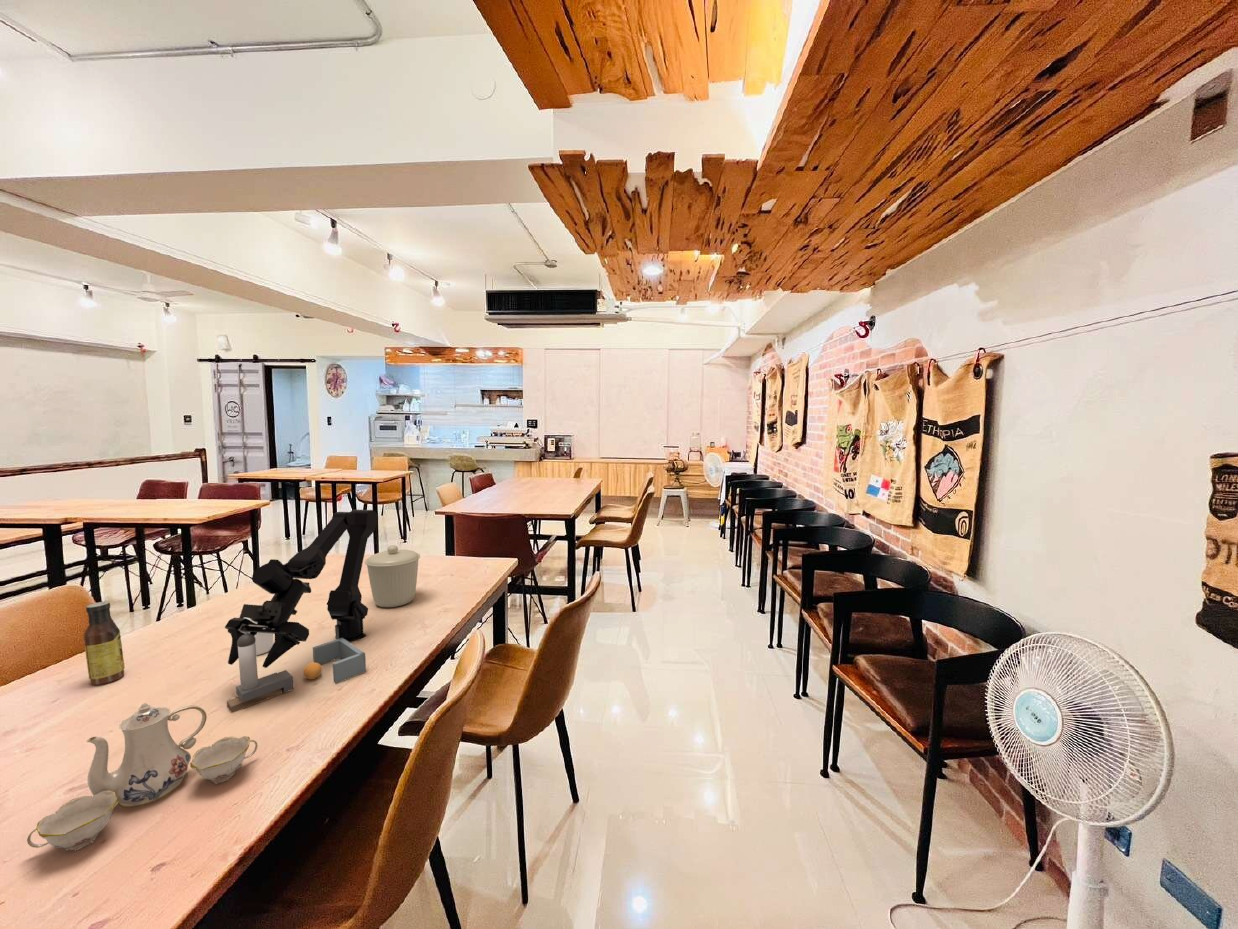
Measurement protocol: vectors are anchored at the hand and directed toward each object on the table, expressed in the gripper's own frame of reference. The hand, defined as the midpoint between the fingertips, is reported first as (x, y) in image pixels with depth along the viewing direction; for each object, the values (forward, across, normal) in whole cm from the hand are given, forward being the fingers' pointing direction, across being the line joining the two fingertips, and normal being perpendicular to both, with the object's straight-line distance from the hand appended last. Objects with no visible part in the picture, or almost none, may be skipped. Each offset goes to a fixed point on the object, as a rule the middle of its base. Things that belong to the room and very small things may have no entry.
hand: (246, 665), depth 110 cm
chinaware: (+26, +9, -12) cm, 30 cm away
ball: (-3, +6, +13) cm, 15 cm away
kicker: (+4, +2, +8) cm, 9 cm away
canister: (-37, -4, +50) cm, 62 cm away
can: (-9, -20, +22) cm, 31 cm away
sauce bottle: (+4, -45, +9) cm, 46 cm away
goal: (-6, +10, +18) cm, 21 cm away
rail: (+6, 0, +7) cm, 9 cm away
